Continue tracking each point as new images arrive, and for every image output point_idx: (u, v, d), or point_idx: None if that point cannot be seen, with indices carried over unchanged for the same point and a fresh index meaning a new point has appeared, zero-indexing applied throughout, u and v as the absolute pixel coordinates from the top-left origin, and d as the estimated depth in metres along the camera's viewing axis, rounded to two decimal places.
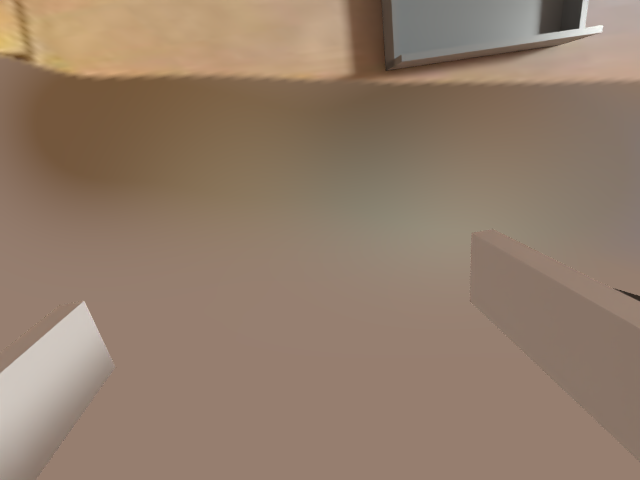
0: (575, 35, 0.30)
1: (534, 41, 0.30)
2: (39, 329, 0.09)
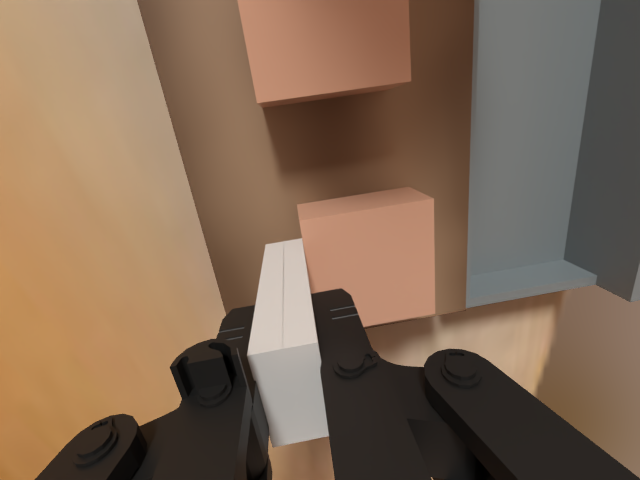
0: None
1: None
2: (272, 256, 0.11)
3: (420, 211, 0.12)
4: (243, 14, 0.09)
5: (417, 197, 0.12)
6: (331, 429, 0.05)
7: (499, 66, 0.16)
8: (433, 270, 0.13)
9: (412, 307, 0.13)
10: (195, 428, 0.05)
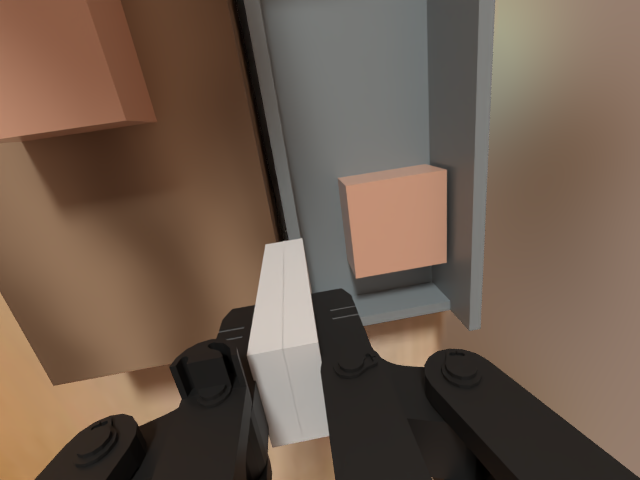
0: None
1: (490, 37, 0.12)
2: (272, 256, 0.11)
3: None
4: None
5: (346, 178, 0.17)
6: (331, 429, 0.05)
7: (328, 89, 0.16)
8: None
9: None
10: (195, 428, 0.05)
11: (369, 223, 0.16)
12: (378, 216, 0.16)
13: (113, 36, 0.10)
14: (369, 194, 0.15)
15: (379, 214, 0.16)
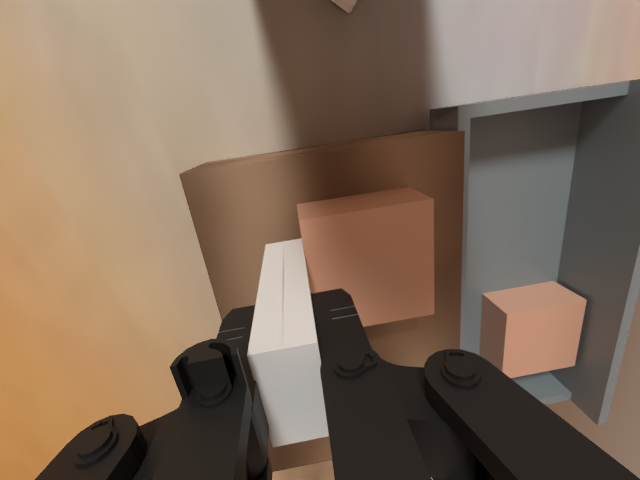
0: None
1: None
2: (272, 256, 0.11)
3: None
4: (311, 283, 0.12)
5: (492, 296, 0.20)
6: (331, 429, 0.05)
7: (486, 230, 0.19)
8: (481, 331, 0.22)
9: None
10: (195, 428, 0.05)
11: (519, 340, 0.19)
12: (527, 335, 0.19)
13: None
14: (524, 319, 0.19)
15: (528, 333, 0.19)
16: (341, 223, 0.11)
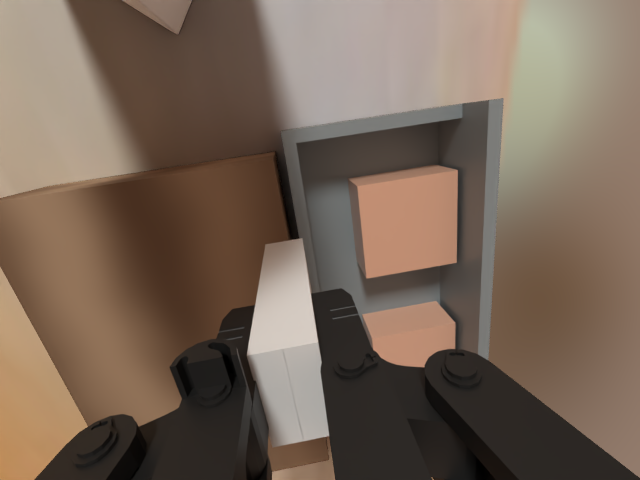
0: (496, 165, 0.14)
1: (491, 253, 0.15)
2: (272, 256, 0.11)
3: None
4: None
5: (370, 317, 0.20)
6: (331, 429, 0.05)
7: None
8: None
9: None
10: (194, 428, 0.05)
11: None
12: (398, 358, 0.19)
13: (356, 226, 0.17)
14: (391, 343, 0.18)
15: (399, 356, 0.19)
16: None
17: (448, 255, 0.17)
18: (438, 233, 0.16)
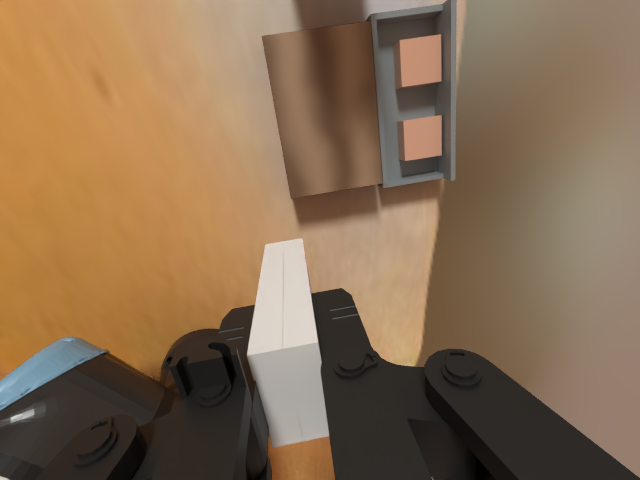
0: (455, 25, 0.35)
1: (455, 67, 0.37)
2: (272, 256, 0.11)
3: None
4: None
5: None
6: (331, 429, 0.05)
7: None
8: (398, 144, 0.43)
9: None
10: (194, 428, 0.05)
11: (411, 136, 0.40)
12: (415, 134, 0.40)
13: (396, 66, 0.39)
14: (412, 124, 0.40)
15: (415, 133, 0.40)
16: None
17: (437, 77, 0.38)
18: (433, 65, 0.38)
